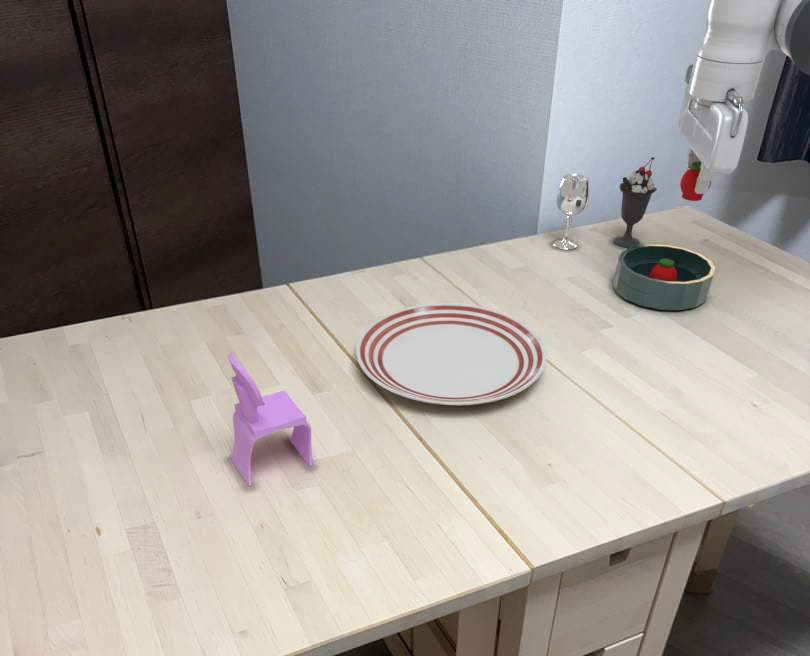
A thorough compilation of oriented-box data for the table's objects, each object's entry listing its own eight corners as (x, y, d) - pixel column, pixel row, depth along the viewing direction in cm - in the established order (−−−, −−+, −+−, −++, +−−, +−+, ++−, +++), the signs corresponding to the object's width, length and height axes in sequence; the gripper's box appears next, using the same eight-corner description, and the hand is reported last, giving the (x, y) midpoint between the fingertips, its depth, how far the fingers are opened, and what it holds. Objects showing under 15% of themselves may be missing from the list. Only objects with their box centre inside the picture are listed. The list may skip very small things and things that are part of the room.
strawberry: (670, 283, 129) (677, 256, 125) (675, 295, 126) (683, 267, 122) (644, 282, 129) (651, 255, 126) (649, 294, 126) (656, 266, 122)
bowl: (694, 273, 133) (702, 245, 130) (716, 314, 122) (726, 285, 118) (606, 270, 133) (612, 243, 130) (621, 311, 122) (627, 282, 119)
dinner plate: (557, 420, 99) (561, 399, 97) (352, 419, 99) (351, 398, 97) (531, 322, 119) (533, 303, 117) (360, 321, 119) (359, 301, 116)
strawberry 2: (702, 193, 116) (711, 159, 112) (709, 203, 112) (719, 169, 109) (674, 192, 116) (682, 158, 112) (680, 202, 112) (689, 168, 109)
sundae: (648, 240, 144) (668, 156, 133) (637, 252, 140) (657, 166, 129) (615, 233, 146) (632, 150, 136) (604, 244, 142) (620, 160, 132)
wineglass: (566, 253, 139) (577, 185, 130) (543, 243, 142) (552, 177, 134) (586, 245, 141) (598, 179, 133) (563, 236, 145) (574, 170, 136)
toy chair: (319, 469, 91) (310, 360, 81) (252, 491, 88) (233, 381, 78) (292, 434, 96) (280, 328, 86) (227, 454, 93) (207, 346, 83)
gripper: (769, 101, 96) (735, 211, 105) (726, 65, 111) (699, 164, 120) (720, 100, 96) (690, 210, 105) (684, 64, 111) (660, 163, 120)
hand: (695, 185), depth 113 cm, fingers closed on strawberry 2, 4 cm apart
